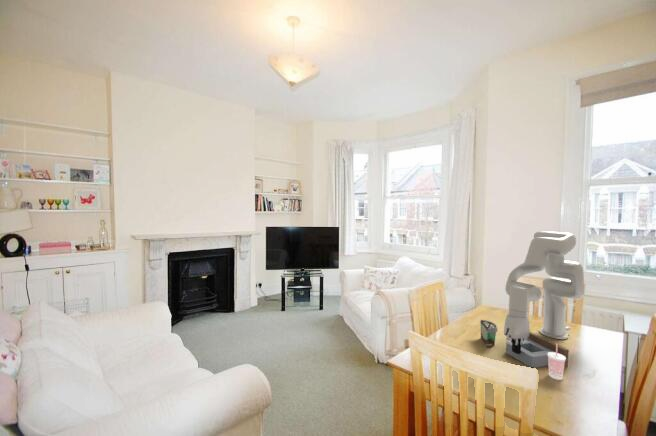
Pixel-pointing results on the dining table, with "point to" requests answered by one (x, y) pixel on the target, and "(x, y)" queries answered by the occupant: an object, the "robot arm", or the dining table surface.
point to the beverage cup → (556, 364)
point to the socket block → (530, 353)
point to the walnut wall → (550, 346)
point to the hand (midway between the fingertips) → (516, 352)
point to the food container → (488, 333)
